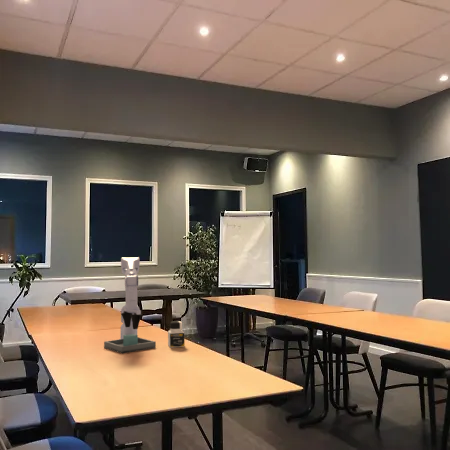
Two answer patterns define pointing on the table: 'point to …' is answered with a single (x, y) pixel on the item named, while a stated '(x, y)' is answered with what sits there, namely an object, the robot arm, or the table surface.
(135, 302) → the robot arm
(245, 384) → the table surface
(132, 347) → the charcoal tray
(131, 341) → the teal block
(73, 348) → the table surface
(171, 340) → the medicine bottle
